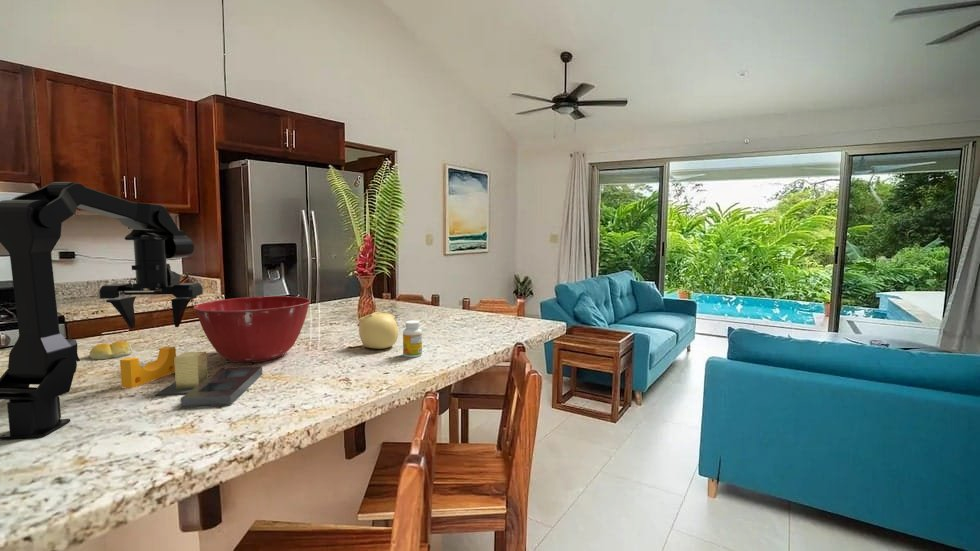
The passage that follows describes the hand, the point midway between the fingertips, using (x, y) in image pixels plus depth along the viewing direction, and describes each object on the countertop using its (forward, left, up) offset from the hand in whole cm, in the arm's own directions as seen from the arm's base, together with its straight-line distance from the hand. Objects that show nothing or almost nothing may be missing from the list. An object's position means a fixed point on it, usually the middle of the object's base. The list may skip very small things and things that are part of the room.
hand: (155, 327), depth 102 cm
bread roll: (+25, +24, -13) cm, 37 cm away
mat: (-6, -10, -12) cm, 17 cm away
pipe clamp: (+2, +3, -13) cm, 13 cm away
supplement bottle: (+13, -59, -13) cm, 62 cm away
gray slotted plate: (-9, -18, -12) cm, 23 cm away
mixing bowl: (+19, -16, -13) cm, 28 cm away
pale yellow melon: (+24, -49, -13) cm, 56 cm away
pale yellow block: (-6, -10, -12) cm, 17 cm away
